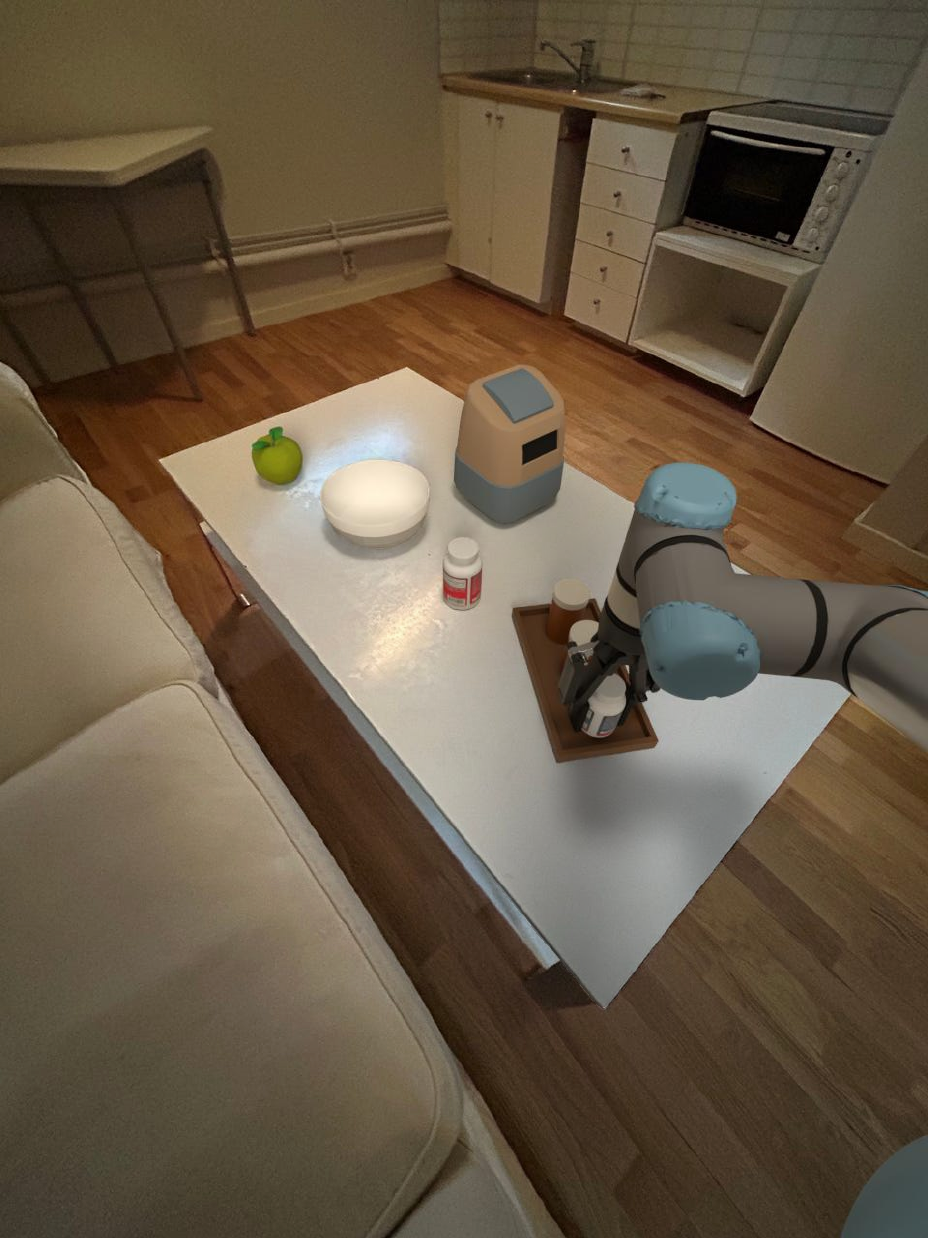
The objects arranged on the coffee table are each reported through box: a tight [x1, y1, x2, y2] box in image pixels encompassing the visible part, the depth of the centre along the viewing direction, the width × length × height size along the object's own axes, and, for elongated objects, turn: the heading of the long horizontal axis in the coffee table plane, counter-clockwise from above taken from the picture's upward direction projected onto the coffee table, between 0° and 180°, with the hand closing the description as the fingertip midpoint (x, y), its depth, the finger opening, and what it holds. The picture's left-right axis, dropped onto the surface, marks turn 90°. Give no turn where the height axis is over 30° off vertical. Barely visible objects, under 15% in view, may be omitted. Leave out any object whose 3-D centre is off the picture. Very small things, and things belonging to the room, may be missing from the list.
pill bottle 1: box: [442, 536, 484, 611], centre depth 85 cm, size 6×6×11 cm
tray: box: [511, 597, 659, 764], centre depth 79 cm, size 26×14×2 cm, turn 10°
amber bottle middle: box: [560, 620, 599, 675], centre depth 75 cm, size 5×5×9 cm
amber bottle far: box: [546, 578, 591, 644], centre depth 80 cm, size 5×5×9 cm
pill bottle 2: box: [582, 674, 626, 738], centre depth 70 cm, size 5×5×9 cm
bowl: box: [319, 458, 431, 550], centre depth 96 cm, size 19×19×9 cm
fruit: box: [251, 426, 304, 486], centre depth 105 cm, size 9×9×10 cm
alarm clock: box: [453, 363, 566, 524], centre depth 98 cm, size 17×17×23 cm
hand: (595, 720), depth 73 cm, fingers closed on pill bottle 2, 5 cm apart
